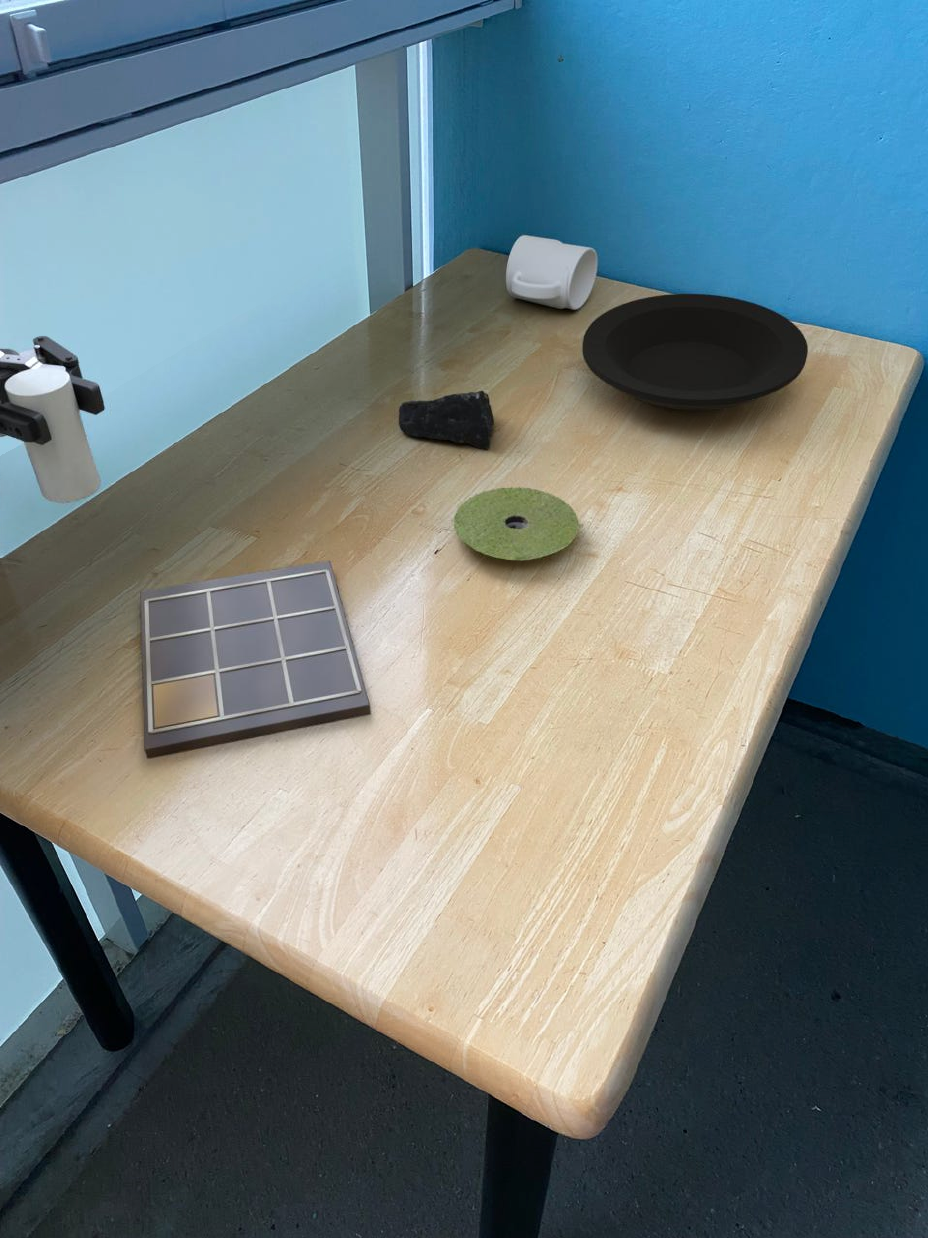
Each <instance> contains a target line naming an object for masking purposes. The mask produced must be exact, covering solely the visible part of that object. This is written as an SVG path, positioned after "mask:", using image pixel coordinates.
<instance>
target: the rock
mask: <svg viewBox="0 0 928 1238" xmlns="http://www.w3.org/2000/svg"><path fill="white" fill-rule="evenodd" d="M490 403H491V401H490V397H489V394H488V393H487V392H485V391H484V390H479V391H475V392H474V391H469V392H459V393H452V394H449V395H444V396H442V397H438V398H435V399H432V400H409V401H403V402H402V403H401V405H400V406H399V407H398V426H399V428H400V430H401V432H402V433H403V434H404V435H408V436H412V437H417V438H427V439H432V440H438V441H448V440H449V441H451V442H452V443H457V444H468V445H470V446H472V447H475V448H477V449H481V450H485V451H488V450H489V448H490V446H491V438H492V434H493V431H494V430H493V428H494V426H495V418H494V413H493V409H492V405H491V404H490Z"/></svg>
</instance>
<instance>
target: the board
mask: <svg viewBox="0 0 928 1238" xmlns="http://www.w3.org/2000/svg"><path fill="white" fill-rule="evenodd" d="M139 595H140V596H139V597H140V629H141V630H140V636H141V640H140V641H141V674H142V679H141V680H142V715H143V719H142V721H143V750H144V753H145V757H146V758H147V759H153V758H157V757H162V756H167V755H172V754H177V753H182V752H186V751H192V750H197V749H202V748H206V747H212V746H218V745H222V744H223V745H224V744H227V743H233V742H238V741H243V740H247V739H252V738H253V739H254V738H258V737H262V736H267V735H271V734H277V733H283V732H287V731H293V730H297V729H302V728H307V727H312V726H317V725H322V724H323V725H324V724H328V723H332V722H337V721H338V722H339V721H343V720H348V719H352V718H358V717H363V716H368V715H371V713H372V711H371V703H370V700H369V697H368V694H367V690H366V686H365V682H364V678H363V674H362V671H361V668H360V664H359V660H358V656H357V652H356V649H355V646H354V642H353V640H352V636H351V631H350V627H349V624H348V621H347V617H346V613H345V610H344V606H343V602H342V597H341V595H340V591H339V588H338V584H337V581H336V577H335V574H334V570H333V567H332V562H331V560H323V561H318V562H312V563H306V564H300V565H293V566H287V567H281V568H280V567H279V568H275V569H274V568H273V569H269V570H263V571H256V572H250V573H245V574H238V575H233V576H226V577H221V578H215V579H208V580H203V581H196V582H195V581H194V582H189V583H182V584H177V585H172V586H165V587H159V588H153V589H146V590H141V591H140V594H139Z"/></svg>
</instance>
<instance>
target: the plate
mask: <svg viewBox="0 0 928 1238" xmlns="http://www.w3.org/2000/svg"><path fill="white" fill-rule="evenodd" d="M581 346H582V348H581V350H582V351H581V352H582V357H583V360H584V362H585V365H586V366H587V367H588V368H589V370H590V371H591V372H592V373H593V374H594V375H595V376H596V377H597V378H598V379H599V380H601V381H603V382H604V383H605V384H607V385H609V386H610V387H612V388H614V389H615V390H618V391H620V392H622V393H623V394H626V395H627V396H629V397H632V398H634V399H636V400H639V401H641V402H644V403H647V404H650V405H654V406H657V407H662V408H668V409H674V410H682V411H683V410H684V411H708V410H717V409H724V408H729V407H734V406H737V405H741V404H743V403H748V402H750V401H754V400H758V399H760V398H763V397H766V396H769V395H771V394H774V393H776V392H778V391H780V390H782V389H784V388H785V387H787V386H788V385H790V384H791V383H793V382H794V381H795V380H796V379H797V377H799V376H800V375H801V374H802V371H803V370H804V368H805V366H806V362H807V359H808V353H809V346H808V341H807V339H806V336H805V335H804V333H803V332H802V330H800V329H799V327H798V326H797V325H796V324H795V323H794V322H792V321H791V320H789V319H788V318H787V317H785V316H784V315H782V314H780V313H779V312H776V311H775V310H773V309H771V308H768V307H766V306H763V305H760V304H757V303H754V302H751V301H747V300H743V299H739V298H736V297H729V296H723V295H717V294H709V293H708V294H706V293H672V294H671V293H670V294H661V295H660V294H659V295H654V296H648V297H644V298H643V297H642V298H638V299H634V300H631V301H628V302H625V303H622V304H619V305H617V306H615V307H613V308H610V309H609V310H607V311H605V312H603V313H602V314H600V315H599V316H597V318H595V319H594V321H592V322H591V323H590V325H588V327H587V329H586V330H585V331H584V335H583V339H582V345H581Z"/></svg>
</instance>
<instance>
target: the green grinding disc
mask: <svg viewBox="0 0 928 1238" xmlns="http://www.w3.org/2000/svg"><path fill="white" fill-rule="evenodd" d="M453 527H454V530H455V532H456V535H457V536H458V537H459V538H460V539H461V541H462V542H463V543H465V544H466V545H467V546H468V547H470V548H471V549H472V550H475V551H476V552H479V553H482V554H483V555H486V556H489V557H491V558H492V557H493V558H496V559H501V560H502V559H503V560H510V561H530V560H531V561H532V560H537V559H541V558H542V557H547V556H550V555H552V554H557V552H559V551H561V550H563V549H565V548H566V547H568V546H569V545H570V544H571V543H572V542H573V541H574V539H575V538H576V537H577V534H578V531H579V527H580V523H579V518H578V516H577V513H576V512H575V510H574V508H573V507H571V505H569V504H568V503H567V502H566V501H565V500H563V499H561V498H560V497H558V496H555V495H553V494H551V493H549V492H546V491H542V490H539V489H535V488H531V487H520V486H517V487H513V486H511V487H501V488H500V487H499V488H496V489H490V490H487V491H486V490H485V491H482V492H480V493H476V494H475V495H473V496H472V497H469V498H468V499H467V500H465V501H464V502H462V503H461V504H460V505H459V507H458V509H457V510H456V512H455V515H454V518H453Z"/></svg>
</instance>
